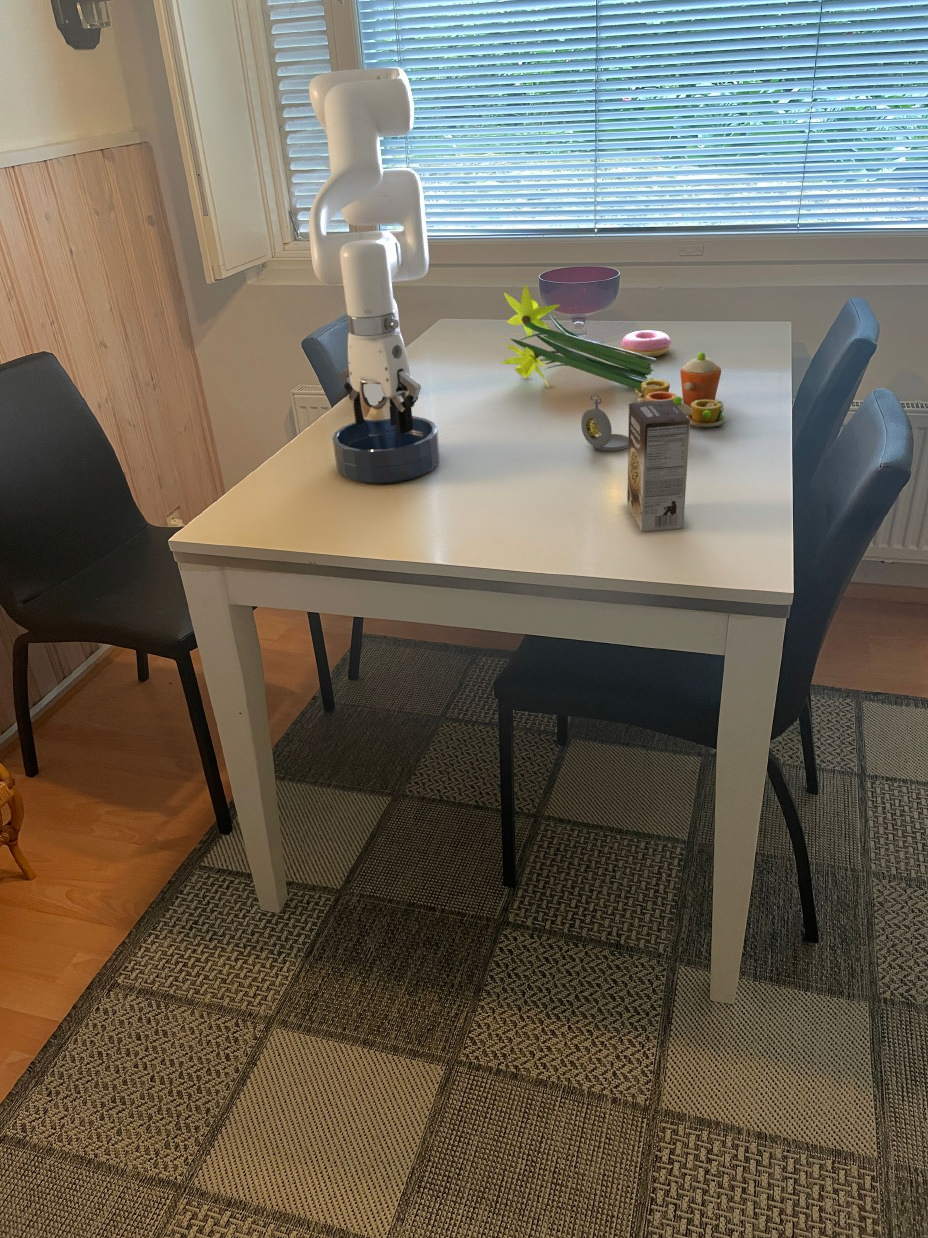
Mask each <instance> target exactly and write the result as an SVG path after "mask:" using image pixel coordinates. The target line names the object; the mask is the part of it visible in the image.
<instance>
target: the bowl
mask: <svg viewBox="0 0 928 1238" xmlns="http://www.w3.org/2000/svg"><path fill="white" fill-rule="evenodd" d="M412 420H413V429H412V430H411V431H408V432H406V433H404V434H402V435H401V442H402V447H397V448H391V449H379V450H371V444H370V439H369V435H368V432H367V428H366V425H365V423H363V424H360V425H357V424H356V422H355V421H353V422H350V423H348V424H346V425H344V426H342V427H340V428H339V429H338V430H336V431H335V432H334V434H333V436H332V437H331V439H332V446H333V452H334V460H335V467H336V470H337V472H338V474H339V475H341V476H343V477H344V478H346V479H349V480H351V481H354V482H356V483H361V484H372V485H385V484H395V483H401V482H405V481H406V482H407V481H410V480H413V479H416V478H419V477H422V476H424V475H425V474H427V473H429V472H430V471H432V470H434V469H435V467H436V466H437V465H438V464H439V463H440V459H441V456H440V455H441V454H440V443H439V432H438V426H437V425H436V424H435V422H434V421H431V420H430V419H427V418H425V417H419V416H414V415H412Z"/></svg>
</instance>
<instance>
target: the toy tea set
mask: <svg viewBox="0 0 928 1238" xmlns="http://www.w3.org/2000/svg"><path fill="white" fill-rule="evenodd" d="M679 371H680V382H681V393H682V397H681V396H678V395H677V394H676V393H674V392H670V386H671V383H670V382H669V381H667V380H662V379H654V378H653V377H652V378H651V377H650V378H648V379H647V380H648V381H644V382H643V383H642V384H641V387H642V391H641V393H640V390H637V389H635V393H636V394H637V395H638V396H637V402H643V401H664V400H672V401H673V402H674V403H675V404H676V405H677V406H678V407H679V409H680V410H681V411H682V412H683V413H684V414H685V415H686V416H687V418H688V419H689V420H690V425H692V426H694V427H699V428H715V427H717V426H718V427H719V426H721V425H723V424H724V423H725V422H726V416H724V415H723V412H724V409H725V408H724V404H723V402H722V401H721V400H716V396H717V392H718V387H719V384H720V379H721V374H722V368H721V366H719V365H717V364H716V362H714V361H713V360H712V359H709V358H707V357H706V354H705V353H704V352H699V353H698V354H697V355H696V358H692V359H690V360H689V361H688V362H686V363H685V364H684V365H683V366H681V368H680V370H679Z"/></svg>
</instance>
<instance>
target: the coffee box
mask: <svg viewBox="0 0 928 1238" xmlns="http://www.w3.org/2000/svg"><path fill="white" fill-rule="evenodd" d="M687 417H688V416H686V415H685V414H684V413H683V412H682V411H681V410H680V409H679V407H678V406H677V405H676V404H675V403H674V402H673V401H672V400H664V401H643V402H638V401H635V402H629V403H628V433H627V434H628V436H627V437H628V447H627V491H626V493H627V502H626V503H627V504H626V507H627V509H628V510H629V512H630V515H631V516H632V518H633V519H634V522H635V523H636V525H637V526H638V528H639V530H640V532H642V533H643V532H654V531H666V530H676V529H683V528H684V519H685V503H686V492H687V491H686V490H687V489H686V488H687V475H688V462H689V461H688V460H689V459H688V458H689V443H690V427H691V426H690V425H691V424H690V420H689V419H688V418H687Z"/></svg>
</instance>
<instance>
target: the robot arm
mask: <svg viewBox="0 0 928 1238" xmlns="http://www.w3.org/2000/svg"><path fill="white" fill-rule="evenodd" d="M308 95H309V99H310V104H311V106H312V110H313V112H314V114H315V117H316V119H317V120H318V122H319V124H320V126H321V128H322V129H323V131H324V133H325V135H326V139H327V149H328V158H329V159H328V160H329V169H330V175H329V176H328V178H327V179H326V180H325V181H324V183H323V184H322V186H321V187H320V189H319V190H318V191H317V193H316V195H315V197H314V199H313V202H312V204H311V206H310V211H309V216H308V234H309V245H310V246H309V247H310V257H311V265H312V269H313V272H314V275H315V277H316V278H317V280H318V281H320V282H321V283H322V284H325V285H331V286H333V285H335V286H336V285H343V290H344V291H343V292H344V300H345V308H346V315H347V322H348V329H349V330H348V331H349V332H348V333H347V334H348V335H347V362H348V363H347V364H348V365H347V367H345V368H344V369H342V370H340V371H339V373H338V374H339V378H340V379H341V381H342V384H344V385H343V388H344V390H345V391H346V393H347V394H348V396H349V397H348V398H349V400H350V402H352V406H353V413H354V422H356V424H357V425H360V424H363V423H365V422H364V419H363V415H362V411H361V404H360V394H359V378H360V379H361V380H363V381H368V382H377V381H379V382H380V385H381V388H382V391H383V393H384V396H385V397H386V398H391V399H392V401H393V402H394V404H395V405H396V407H397V408H398V410H397V411H396V421H397V430H398V433H399V434H401V435H402V434H404V433H406V432H408V431H411V430H412V429H413V420H412V416H413V411H412V408H413V407H414V406H415V404H416V402H417V401H418V399H419V395H420V392H421V388H422V385H421V383H419V382H418V381H417V380H416V379H414V378H413V377H412V376H411V372H410V364H409V359H408V354H407V350H406V345H405V341H404V339H403V336H402V333H401V328H400V327H401V326H400V319H399V318H400V317H399V310H398V309H399V308H398V305H397V302H396V300H395V298H394V291H393V282H402V281H403V282H405V281H415V280H419V279H420V280H421V279H422V278H424V277H425V276H426V275H427V273H428V271H429V267H430V265H429V264H430V255H429V243H428V232H427V219H426V208H425V200H424V199H425V198H424V191H423V186H422V181H421V179H420V177H419V175H418V174H417V172H415V171H414V170H413V169H411V168H407V167H398V168H397V167H396V168H386V169H384V168H383V161H382V153H381V144H380V138H388V137H391V138H392V137H400V136H406V135H408V134H410V133H411V131H412V129H413V126H414V118H415V117H414V116H415V114H414V113H415V112H414V100H413V96H412V91H411V86H410V83H409V78H408V76H407V74H406V73H405V71H404V70H403V69H402V68H400V67H397V66H396V67H395V66H388V67H375V68H374V67H373V68H363V69H362V68H361V69H358V68H357V69H343V70H335V71H327V72H324V73H321V74H317V75H316V76H314V77H313V78H312V79H311V80H310V82H309V85H308ZM340 211H341V214H342V218H343V219H344V221H345V222H346V223H347V224H348V225H350V226H355V227H368V226H369V227H371V226H380V225H392V224H393V225H394V224H399V225H401V226H402V227H403V228H399V229H388V230H384V229H383V230H373V231H363V232H362V231H361V232H360V231H357V232H347V233H335V234H327V229H328V228H327V227H328V225H329V222H330V221H331V220H332V219H333V217H334V216H336V214H337V213H338V212H340ZM397 387H398V389H399V391H397V392H396V389H397ZM399 396H401V397H402V401H401V399H400V398H399Z"/></svg>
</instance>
